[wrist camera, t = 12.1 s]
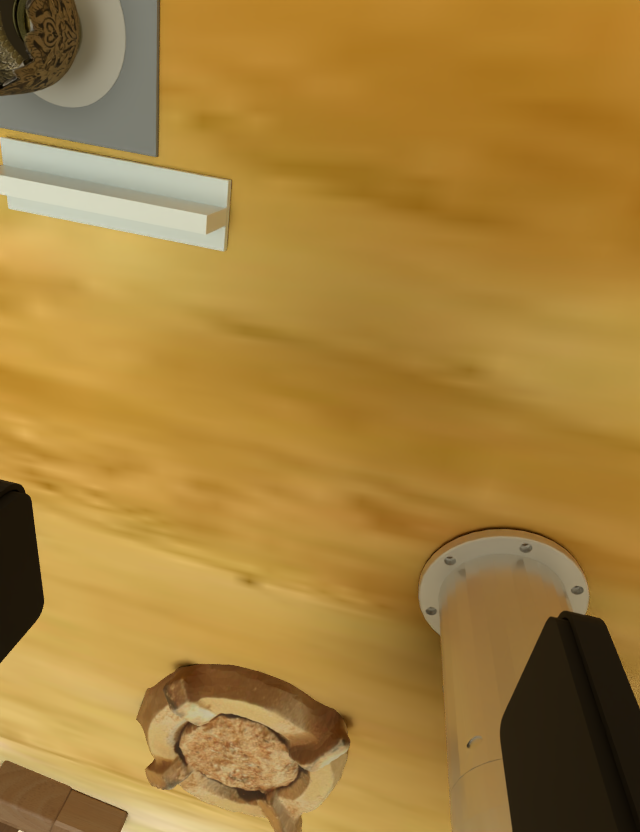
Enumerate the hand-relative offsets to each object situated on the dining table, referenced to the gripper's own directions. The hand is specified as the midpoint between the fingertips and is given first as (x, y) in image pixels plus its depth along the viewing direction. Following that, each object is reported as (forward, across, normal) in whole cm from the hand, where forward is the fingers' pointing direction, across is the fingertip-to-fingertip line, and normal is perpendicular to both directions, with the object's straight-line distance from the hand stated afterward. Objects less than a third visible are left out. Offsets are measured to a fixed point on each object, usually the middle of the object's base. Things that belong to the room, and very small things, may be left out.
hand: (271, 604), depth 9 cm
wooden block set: (+29, +30, +77) cm, 88 cm away
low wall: (+25, +17, -3) cm, 31 cm away
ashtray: (+28, +5, +49) cm, 57 cm away
